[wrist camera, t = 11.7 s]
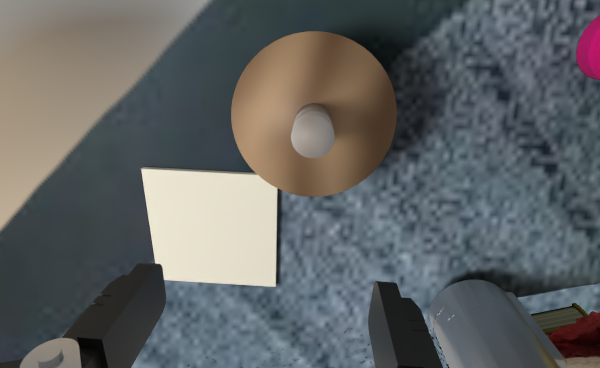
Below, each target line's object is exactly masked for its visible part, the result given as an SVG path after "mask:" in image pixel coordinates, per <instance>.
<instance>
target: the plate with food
mask: <svg viewBox="0 0 600 368" xmlns="http://www.w3.org/2000/svg"><path fill="white" fill-rule="evenodd" d="M576 320H577V322H576V323H574V324H570V325H564V326H562V327H560V328H559V329H557V330H554V332H553V333H549V334H547V337H548V338H549V339H550V341H551V342H552V343H553V344H554V346H555V347H556V348H557V349H558V351H559V352H560V353H561V354H562V356H563V357H564V358H565V360H566V361H567V368H600V313H596V312H593V311H592V312H591V313H590V314H589V317H587V316H583V317H581V318H578V319H576Z"/></svg>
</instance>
